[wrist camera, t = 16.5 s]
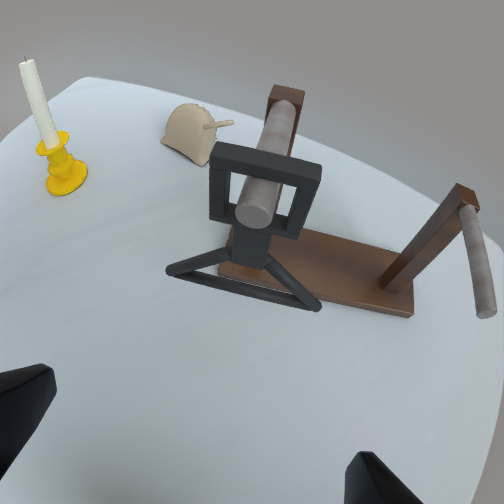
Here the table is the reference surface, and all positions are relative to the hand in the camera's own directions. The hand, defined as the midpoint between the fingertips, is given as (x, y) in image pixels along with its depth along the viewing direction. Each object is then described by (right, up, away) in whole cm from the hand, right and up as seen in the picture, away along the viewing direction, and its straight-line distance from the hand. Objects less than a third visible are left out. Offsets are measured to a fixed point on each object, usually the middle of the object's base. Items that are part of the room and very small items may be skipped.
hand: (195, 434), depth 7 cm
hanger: (+1, +2, +11) cm, 11 cm away
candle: (-19, +13, +22) cm, 32 cm away
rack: (+7, +1, +18) cm, 19 cm away
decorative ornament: (-5, +16, +26) cm, 31 cm away
